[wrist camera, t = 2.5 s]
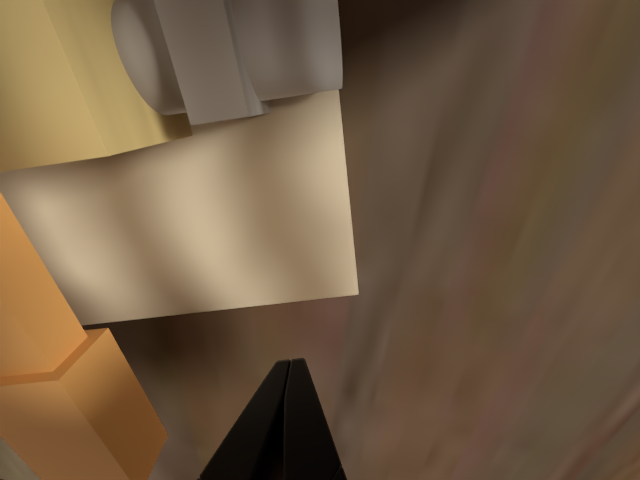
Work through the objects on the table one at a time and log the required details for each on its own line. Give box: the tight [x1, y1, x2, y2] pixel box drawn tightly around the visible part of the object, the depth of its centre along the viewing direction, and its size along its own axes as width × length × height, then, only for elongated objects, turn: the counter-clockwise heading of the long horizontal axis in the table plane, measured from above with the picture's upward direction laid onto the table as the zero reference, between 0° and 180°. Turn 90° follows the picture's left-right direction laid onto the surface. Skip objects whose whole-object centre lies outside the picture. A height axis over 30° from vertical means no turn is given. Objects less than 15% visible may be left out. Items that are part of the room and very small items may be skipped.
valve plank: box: [0, 0, 359, 326], centre depth 10 cm, size 18×16×7 cm
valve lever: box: [0, 192, 168, 480], centre depth 7 cm, size 3×14×2 cm, turn 8°
